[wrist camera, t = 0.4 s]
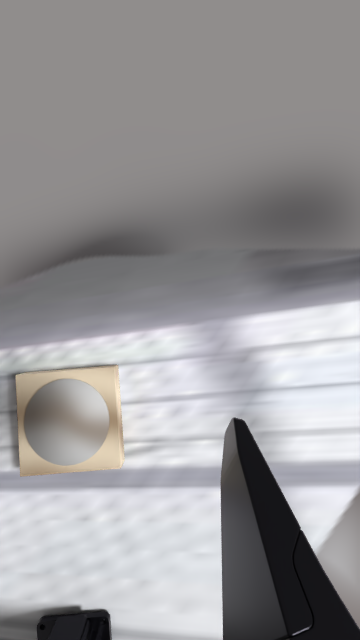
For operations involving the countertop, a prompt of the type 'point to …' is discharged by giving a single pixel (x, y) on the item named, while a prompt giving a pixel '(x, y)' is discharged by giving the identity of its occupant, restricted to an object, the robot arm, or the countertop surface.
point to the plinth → (69, 420)
